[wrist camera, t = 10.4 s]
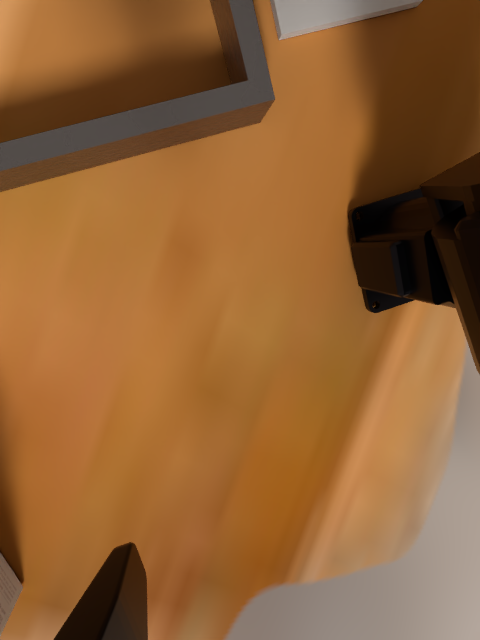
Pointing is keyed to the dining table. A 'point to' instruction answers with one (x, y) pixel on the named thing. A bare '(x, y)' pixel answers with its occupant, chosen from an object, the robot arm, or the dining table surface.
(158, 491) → the dining table surface
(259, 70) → the rack
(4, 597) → the supplement box
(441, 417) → the dining table surface
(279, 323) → the dining table surface
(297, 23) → the mat
